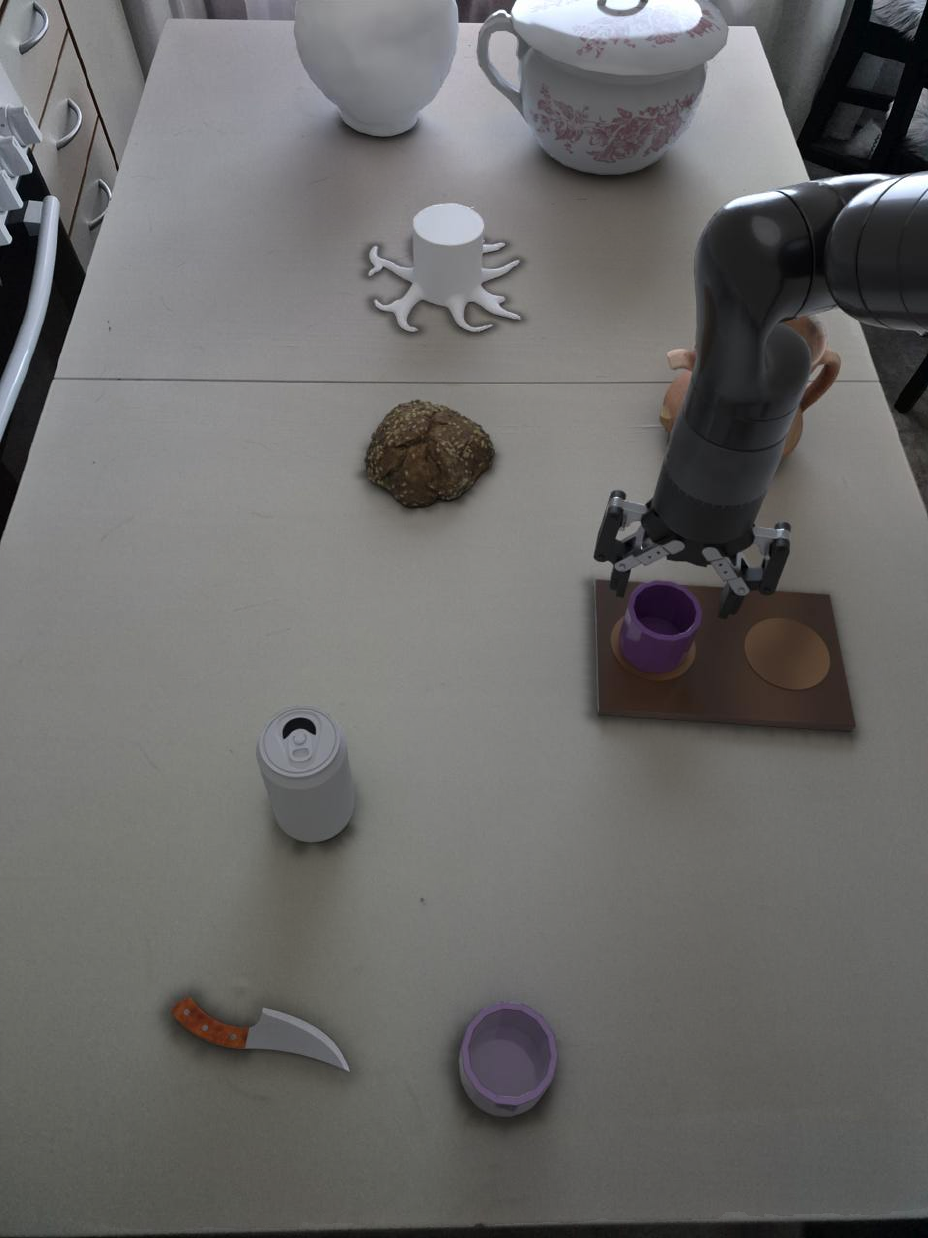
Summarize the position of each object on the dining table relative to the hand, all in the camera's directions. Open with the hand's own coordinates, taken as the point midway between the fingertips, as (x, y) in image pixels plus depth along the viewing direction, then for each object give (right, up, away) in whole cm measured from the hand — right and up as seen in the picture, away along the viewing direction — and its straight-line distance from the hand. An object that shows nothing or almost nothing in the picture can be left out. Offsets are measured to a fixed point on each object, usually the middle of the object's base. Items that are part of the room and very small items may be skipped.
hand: (671, 599), depth 80 cm
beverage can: (-29, -17, -3) cm, 34 cm away
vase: (-29, +69, +57) cm, 94 cm away
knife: (-31, -31, -13) cm, 46 cm away
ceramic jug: (+11, +18, +23) cm, 31 cm away
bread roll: (-21, +14, +19) cm, 32 cm away
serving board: (+6, -5, +7) cm, 10 cm away
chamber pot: (+1, +64, +54) cm, 84 cm away
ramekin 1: (-15, -33, -13) cm, 38 cm away
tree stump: (-20, +39, +36) cm, 56 cm away
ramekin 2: (0, -4, +6) cm, 7 cm away
